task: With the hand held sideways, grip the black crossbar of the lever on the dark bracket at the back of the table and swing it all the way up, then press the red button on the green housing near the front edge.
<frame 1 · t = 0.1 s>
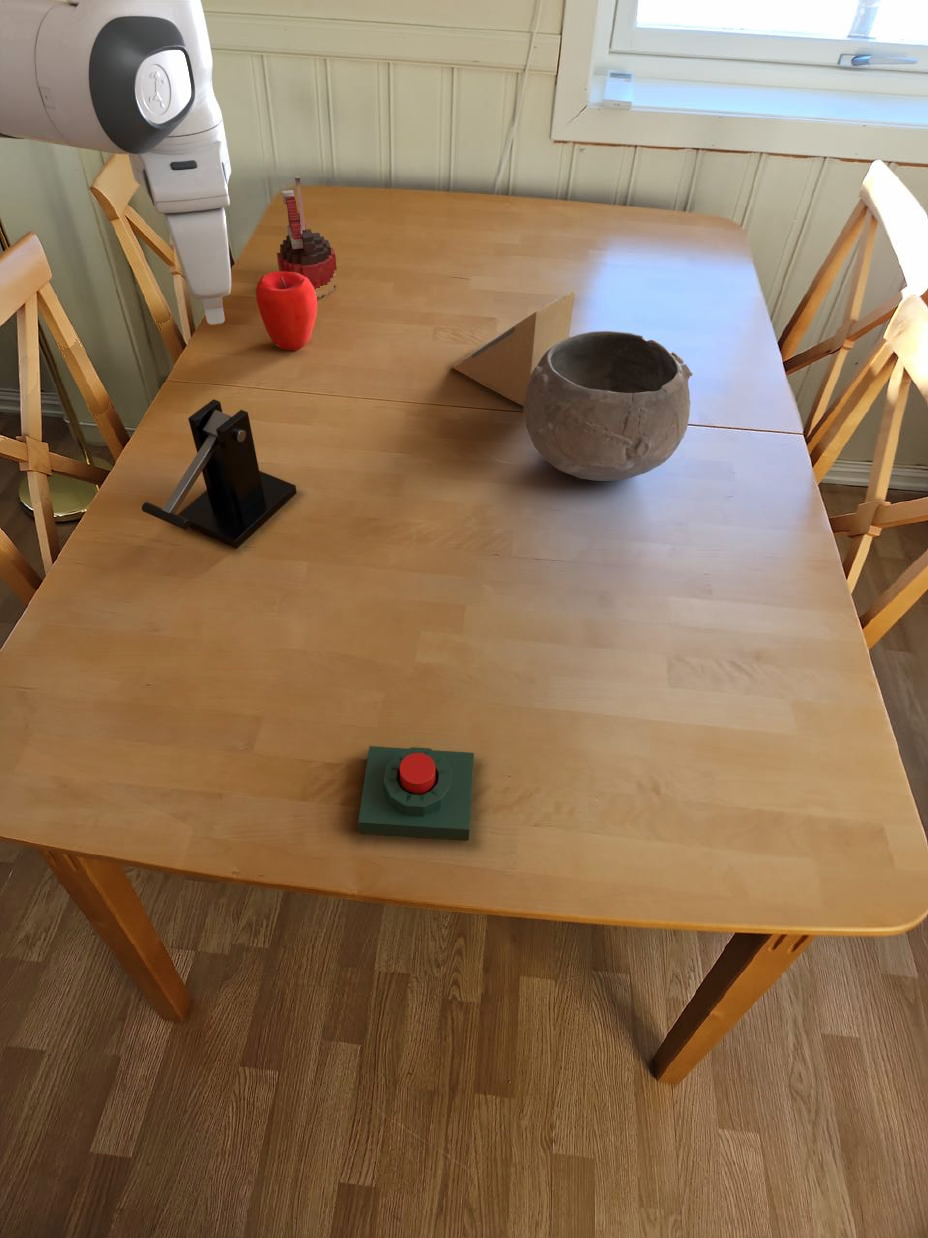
hand: (209, 298, 86), 26 cm above the table, tool pointing down, fingers open, 8 cm apart
lever: (195, 468, 93), point 10 cm above the table, hinge at -25.0°
button: (417, 773, 74), point 4 cm above the table, slide at 0.1 cm
cake: (310, 289, 141), on the table
bracket: (239, 507, 103), on the table
button box: (418, 798, 77), on the table
apple: (292, 344, 129), on the table
sandwich container: (506, 377, 125), on the table
clay pot: (596, 459, 112), on the table
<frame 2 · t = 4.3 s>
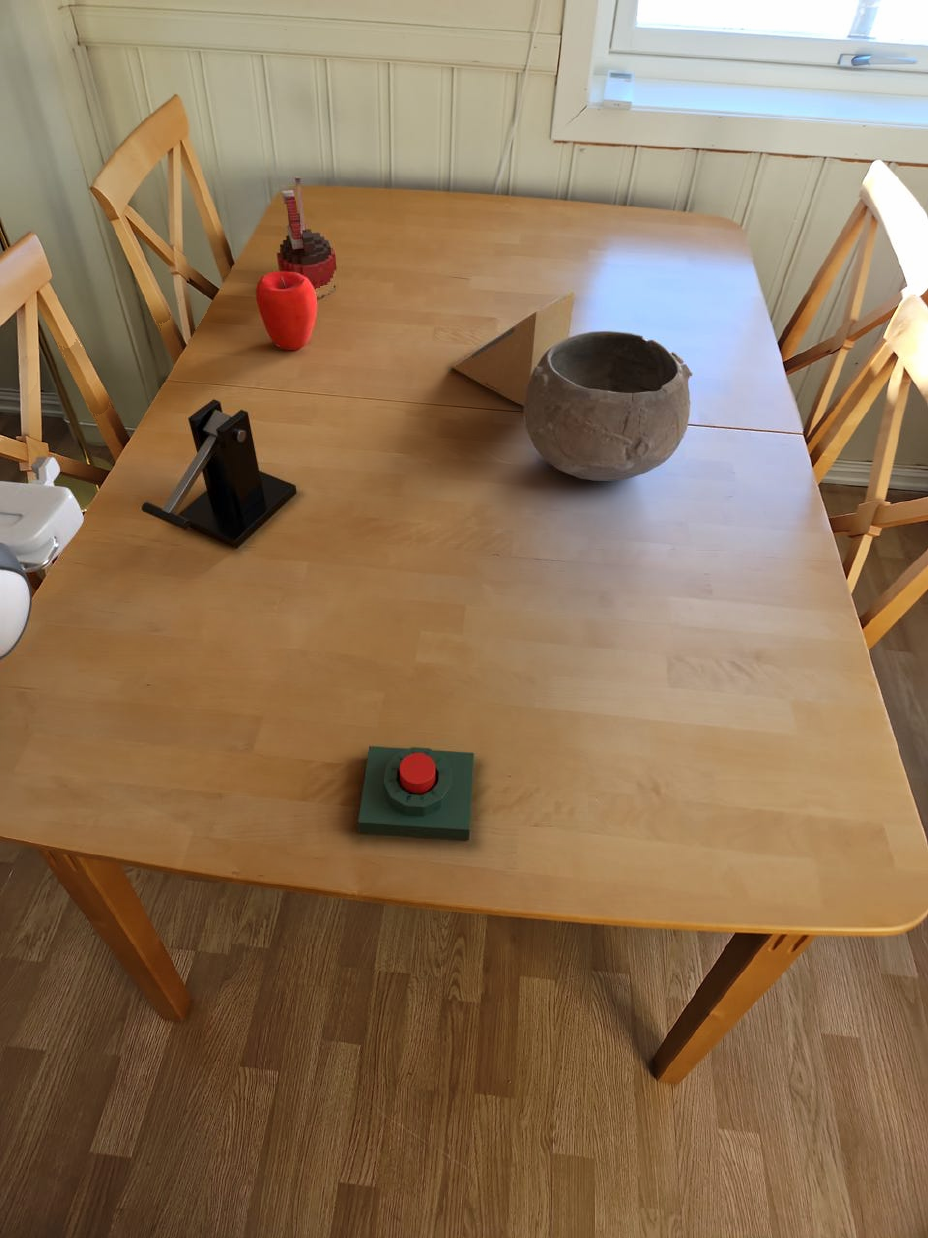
hand: (2, 457, 77), 20 cm above the table, tool horizontal, fingers open, 8 cm apart
nothing on the table moved.
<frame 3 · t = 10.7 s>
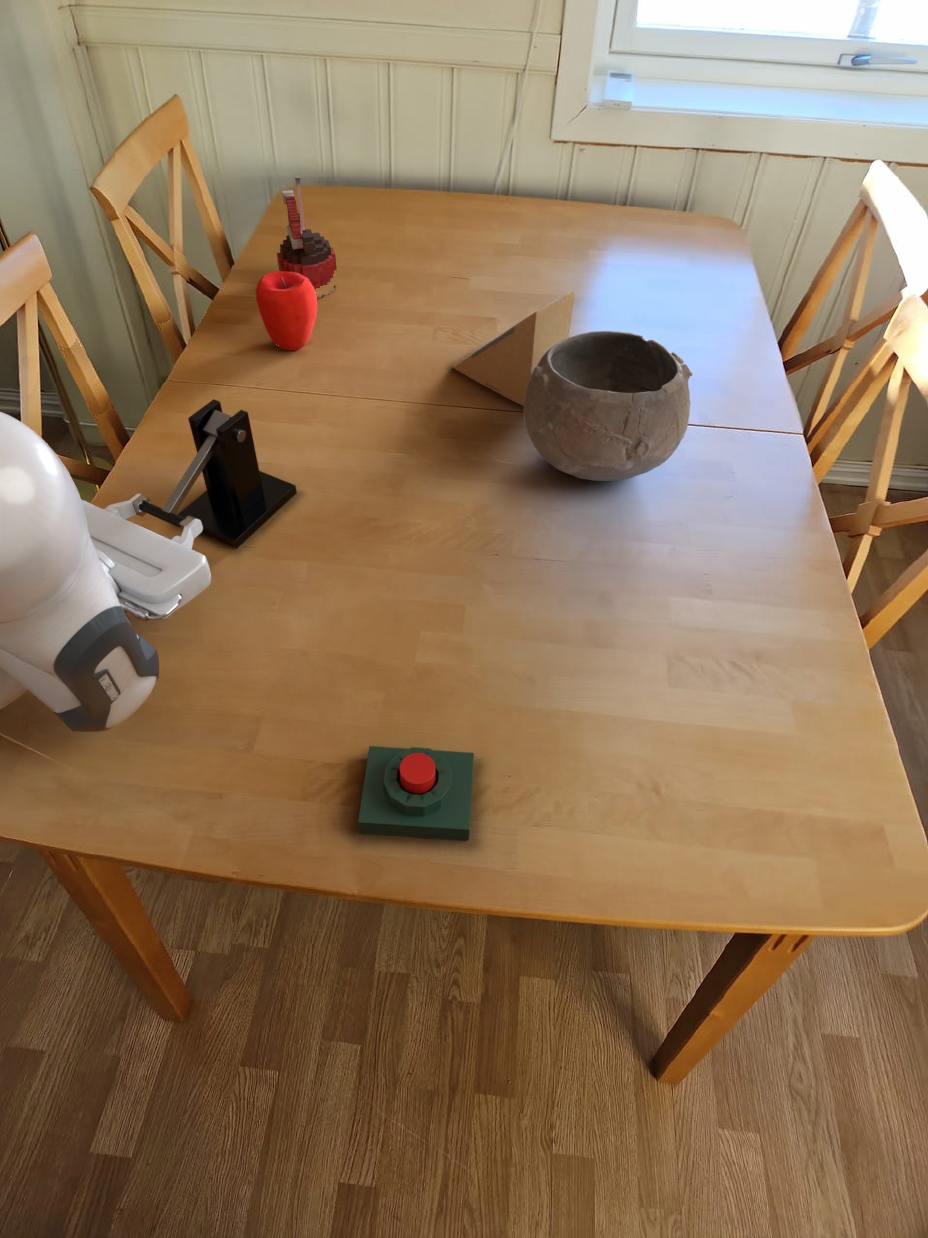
hand: (171, 510, 92), 7 cm above the table, tool horizontal, fingers closed on lever, 6 cm apart
lever: (195, 468, 93), point 10 cm above the table, hinge at -25.0°, touching gripper
everything else where it was.
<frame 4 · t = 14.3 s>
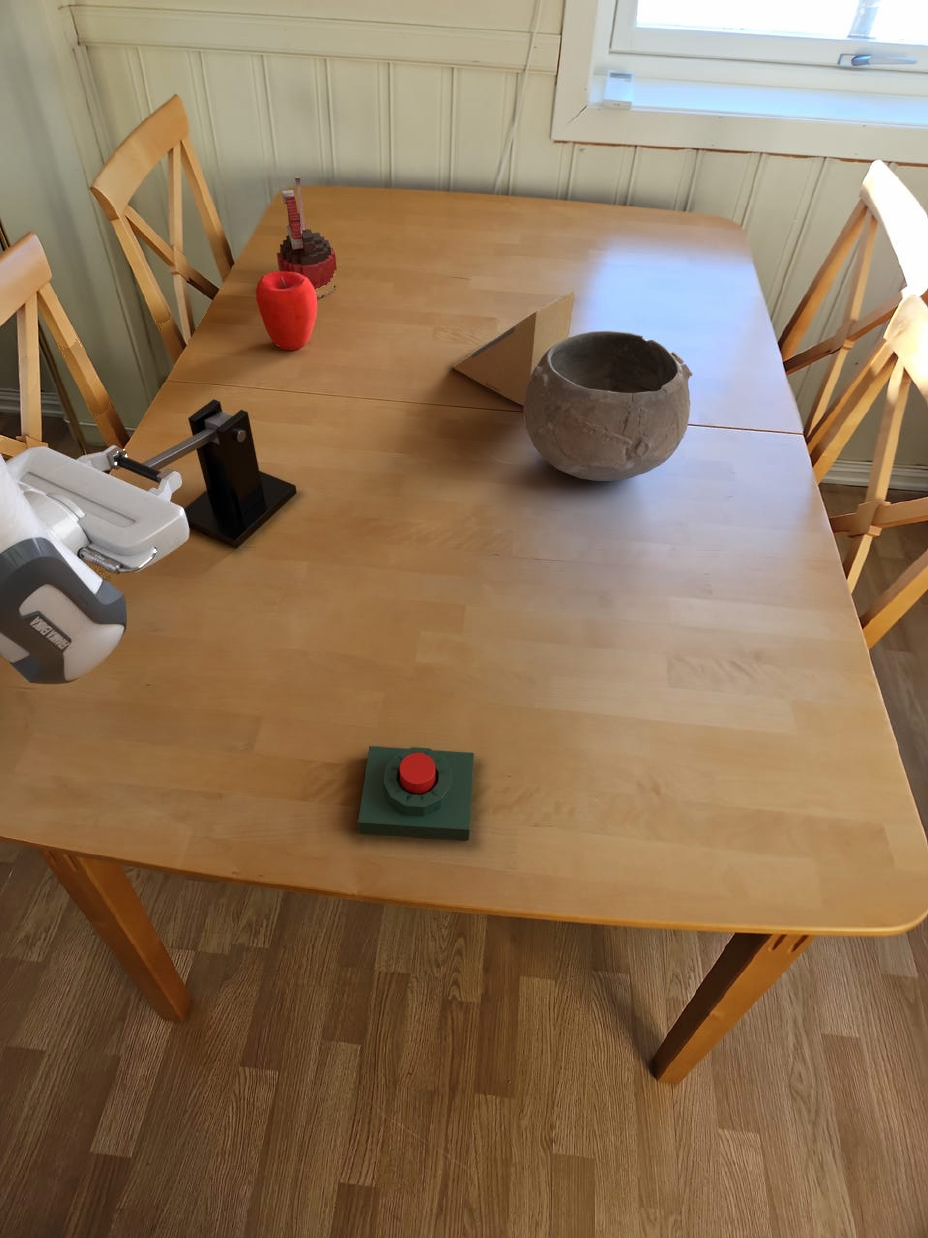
hand: (148, 463, 86), 14 cm above the table, tool horizontal, fingers closed on lever, 6 cm apart
lever: (186, 446, 90), point 13 cm above the table, hinge at 9.3°, touching gripper
everything else where it was.
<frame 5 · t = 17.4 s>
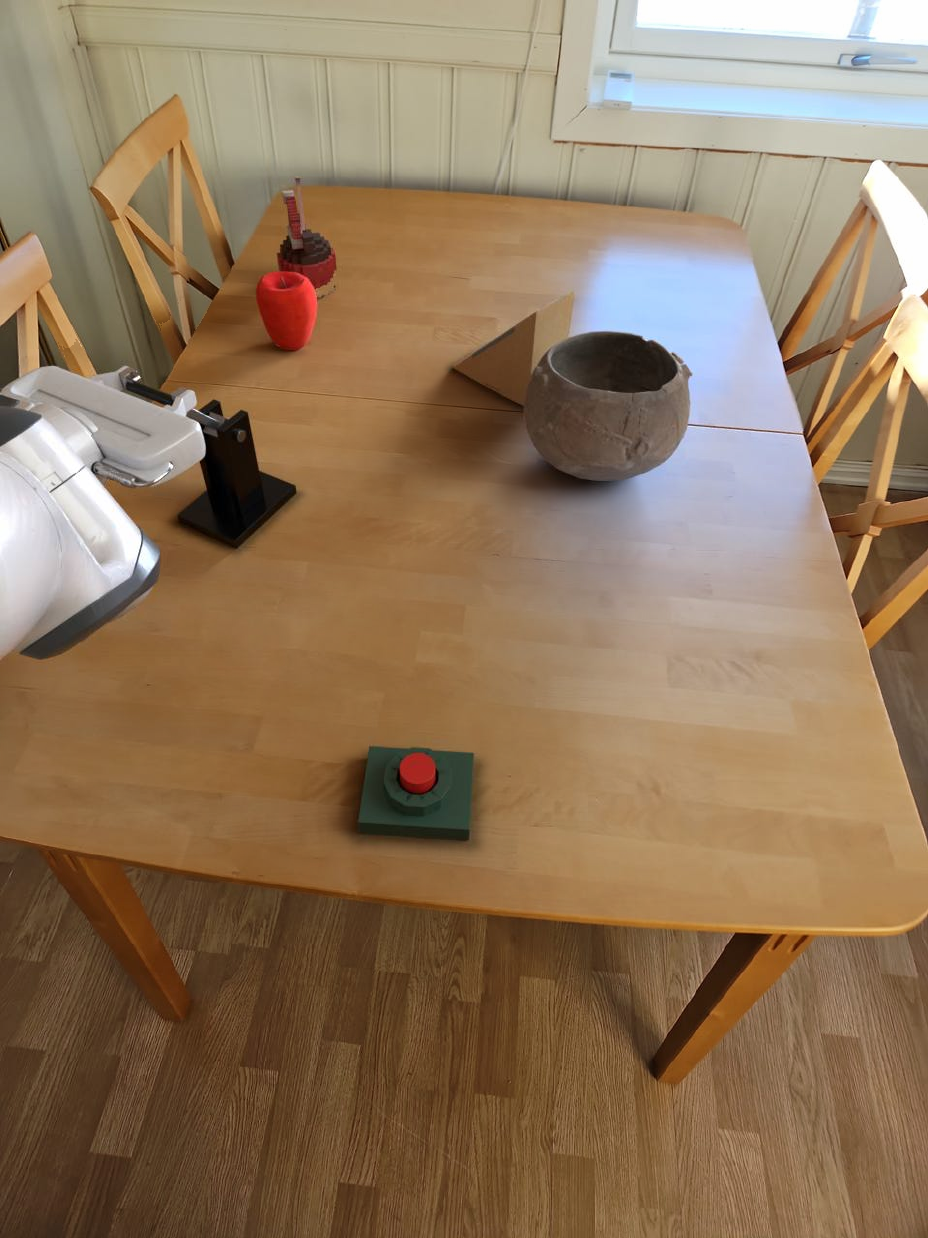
hand: (161, 383, 83), 21 cm above the table, tool horizontal, fingers closed on lever, 6 cm apart
lever: (191, 413, 89), point 16 cm above the table, hinge at 48.6°, touching gripper
everything else where it was.
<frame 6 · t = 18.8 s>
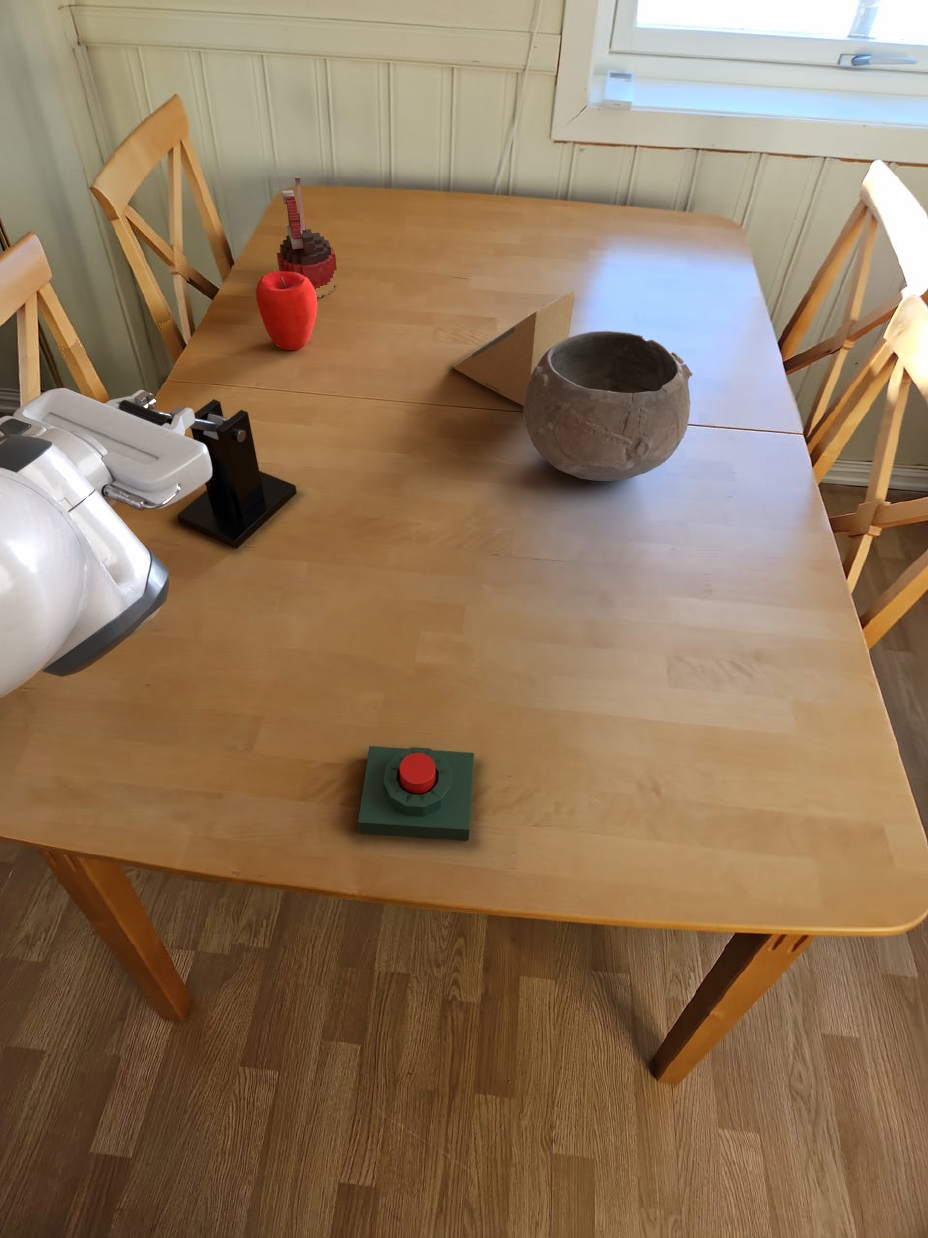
hand: (169, 404, 85), 19 cm above the table, tool horizontal, fingers open, 4 cm apart
lever: (188, 422, 89), point 15 cm above the table, hinge at 38.3°
everything else where it was.
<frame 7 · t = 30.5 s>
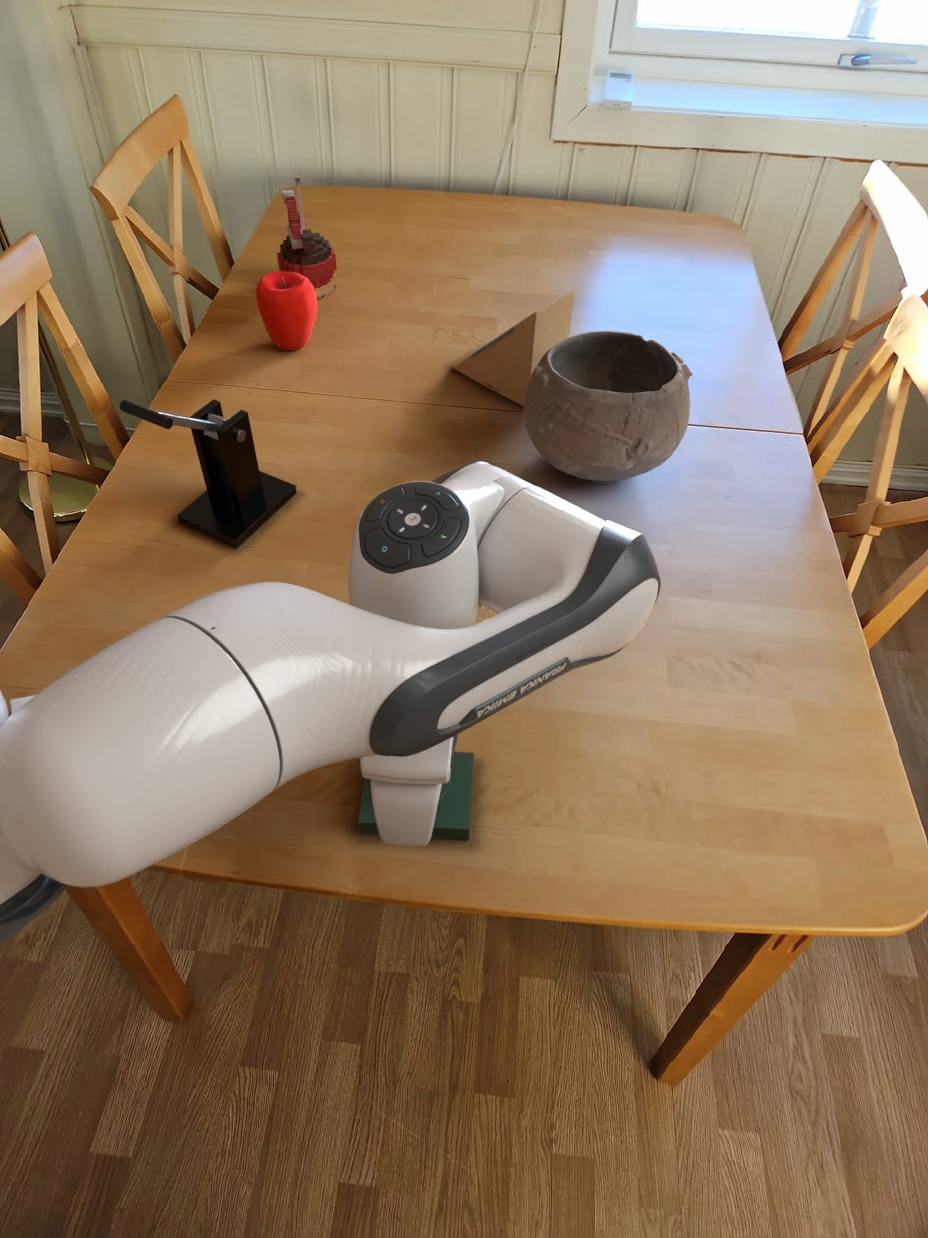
hand: (418, 769, 73), 5 cm above the table, tool pointing down, fingers closed, pressing on button
button: (417, 773, 74), point 4 cm above the table, slide at 0.0 cm, touching gripper
everything else where it was.
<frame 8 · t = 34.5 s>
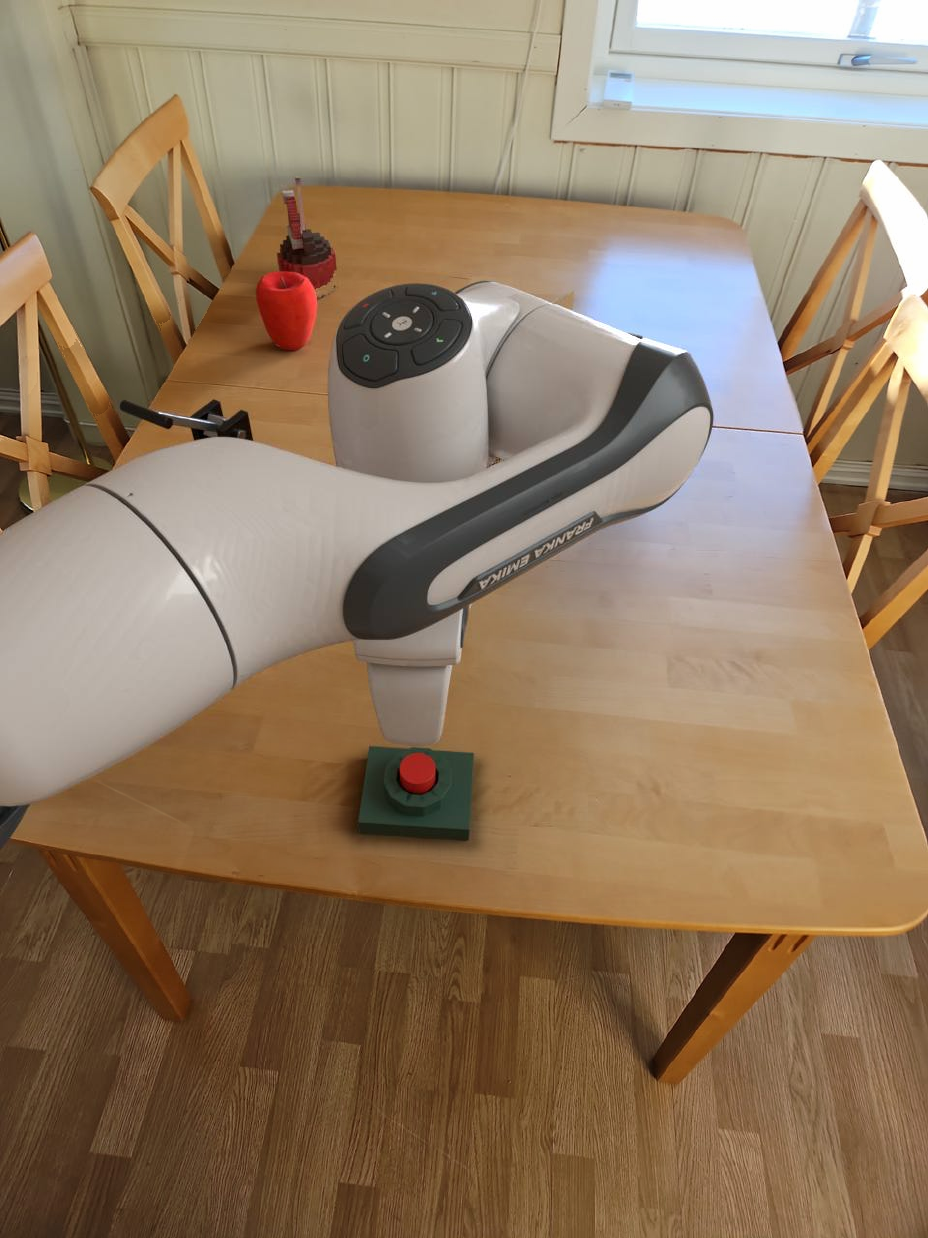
hand: (428, 667, 64), 19 cm above the table, tool pointing down, fingers closed
button: (417, 773, 74), point 4 cm above the table, slide at 0.1 cm
everything else where it was.
at the end: lever at +38° (first picture: -25°); button pushed in 1.0 cm at the most during the clip, back to where it started at the end; button slide at 0.1 cm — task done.
